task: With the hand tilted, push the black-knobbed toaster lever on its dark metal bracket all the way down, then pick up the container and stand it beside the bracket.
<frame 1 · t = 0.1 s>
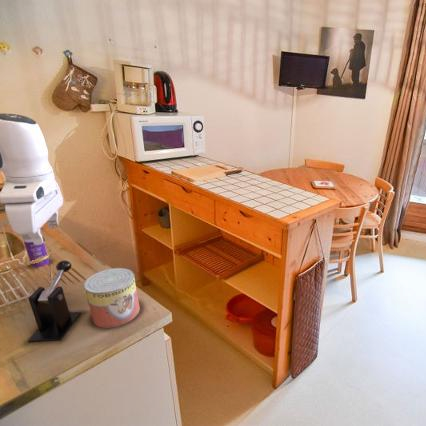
hand: (47, 234, 82), 23 cm above the countertop, tool pointing down, fingers open, 8 cm apart
container: (41, 265, 107), on the countertop
bracket: (57, 329, 83), on the countertop
lever: (56, 281, 82), point 12 cm above the countertop, hinge at 22.0°
canned food: (117, 315, 89), on the countertop
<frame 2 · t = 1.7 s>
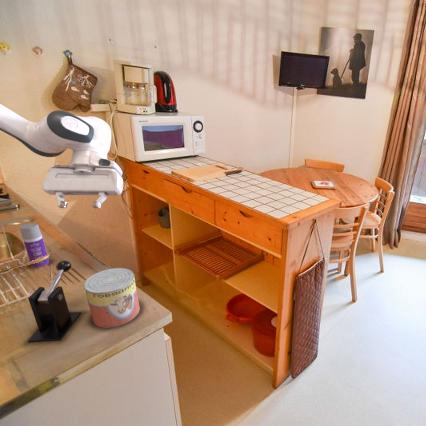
hand: (79, 207, 92), 25 cm above the countertop, tool tilted 45°, fingers open, 8 cm apart
nothing on the countertop moved.
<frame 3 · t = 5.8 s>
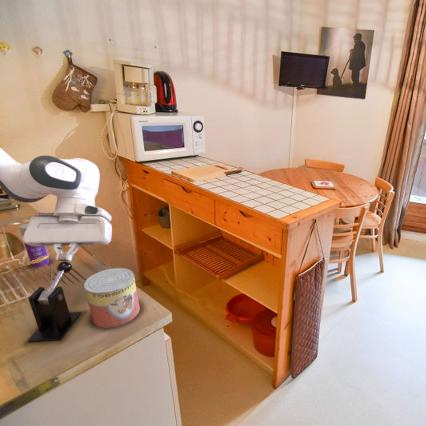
hand: (63, 260, 85), 15 cm above the countertop, tool tilted 45°, fingers closed, pressing on lever
lever: (56, 281, 82), point 12 cm above the countertop, hinge at 19.0°, touching gripper
everything else where it was.
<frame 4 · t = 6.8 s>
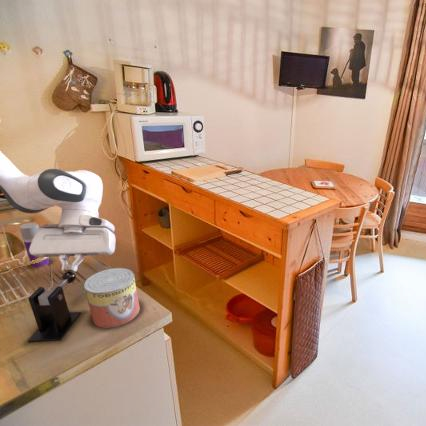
hand: (68, 271, 87), 11 cm above the countertop, tool tilted 45°, fingers closed, pressing on lever
lever: (58, 286, 83), point 10 cm above the countertop, hinge at -3.0°, touching gripper
everything else where it was.
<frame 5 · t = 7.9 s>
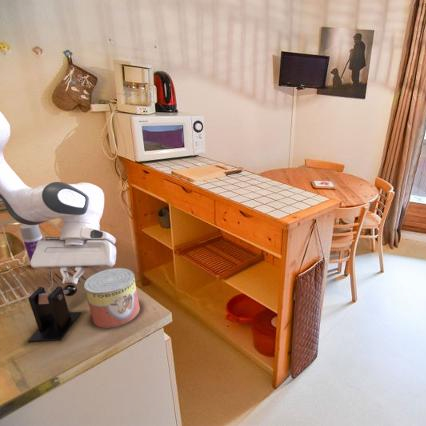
hand: (69, 284, 88), 8 cm above the countertop, tool tilted 45°, fingers closed, pressing on lever
lever: (59, 293, 83), point 8 cm above the countertop, hinge at -25.9°, touching gripper
everything else where it was.
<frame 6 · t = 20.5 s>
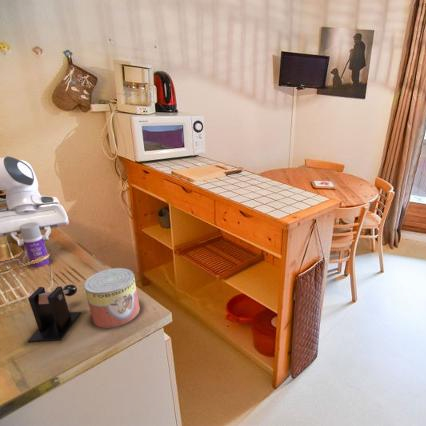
hand: (34, 243, 103), 9 cm above the countertop, tool tilted 45°, fingers closed on container, 4 cm apart
container: (41, 265, 107), on the countertop, touching gripper
lever: (59, 293, 83), point 8 cm above the countertop, hinge at -25.6°
everything else where it was.
when the fingers open (9 cm above the countertop, at t = 30.3 s): container stays where it is, on the countertop.
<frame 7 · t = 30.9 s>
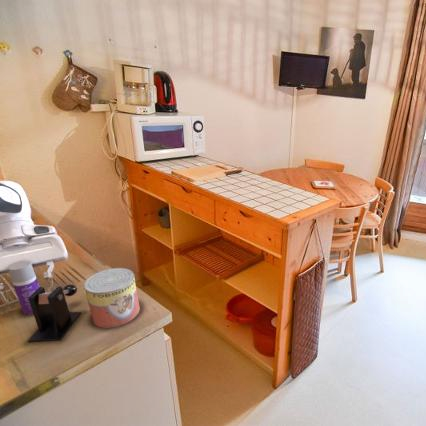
hand: (25, 284, 84), 9 cm above the countertop, tool tilted 45°, fingers open, 8 cm apart
container: (35, 311, 88), on the countertop
everything else where it was.
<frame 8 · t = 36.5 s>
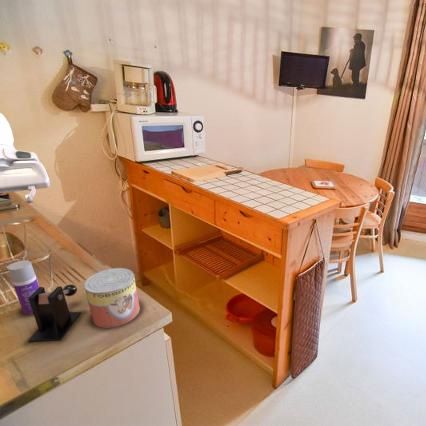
hand: (6, 205, 86), 27 cm above the countertop, tool tilted 45°, fingers open, 8 cm apart
nothing on the countertop moved.
at the end: lever at -26° (first picture: +22°); container inside the target area on the countertop beside the bracket (0.6 cm from its centre), on the countertop; container tilted 0° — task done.
